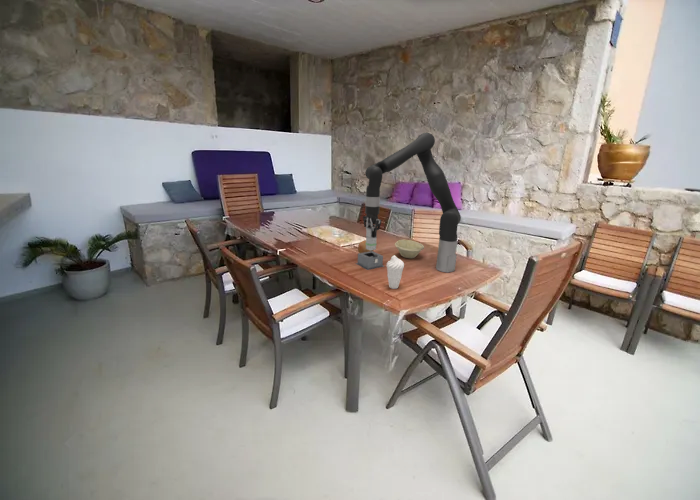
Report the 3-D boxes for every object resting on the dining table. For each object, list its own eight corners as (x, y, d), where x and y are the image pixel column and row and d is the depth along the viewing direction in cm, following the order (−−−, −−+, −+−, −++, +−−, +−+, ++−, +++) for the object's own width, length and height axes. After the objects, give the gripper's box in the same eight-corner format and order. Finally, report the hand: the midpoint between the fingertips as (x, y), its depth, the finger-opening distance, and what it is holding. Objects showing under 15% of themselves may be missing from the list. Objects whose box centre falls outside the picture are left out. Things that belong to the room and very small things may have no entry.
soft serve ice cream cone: (400, 283, 156) (403, 252, 152) (404, 290, 148) (406, 258, 144) (383, 283, 156) (385, 252, 151) (386, 290, 148) (388, 258, 143)
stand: (384, 267, 177) (385, 253, 175) (367, 271, 171) (368, 257, 169) (372, 261, 187) (372, 248, 185) (355, 265, 181) (355, 251, 178)
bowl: (405, 259, 207) (424, 246, 204) (407, 266, 190) (428, 252, 187) (392, 242, 206) (411, 228, 203) (393, 247, 188) (414, 233, 185)
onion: (368, 259, 191) (369, 243, 188) (354, 256, 196) (354, 240, 193) (376, 255, 199) (377, 240, 196) (362, 252, 204) (363, 237, 201)
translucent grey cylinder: (376, 249, 175) (377, 228, 172) (369, 250, 173) (370, 229, 169) (371, 247, 179) (372, 226, 175) (365, 248, 176) (365, 227, 173)
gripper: (386, 206, 165) (384, 238, 170) (370, 202, 177) (369, 232, 181) (375, 207, 161) (373, 240, 166) (359, 203, 173) (358, 234, 178)
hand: (371, 236), depth 174 cm, fingers closed on translucent grey cylinder, 4 cm apart
